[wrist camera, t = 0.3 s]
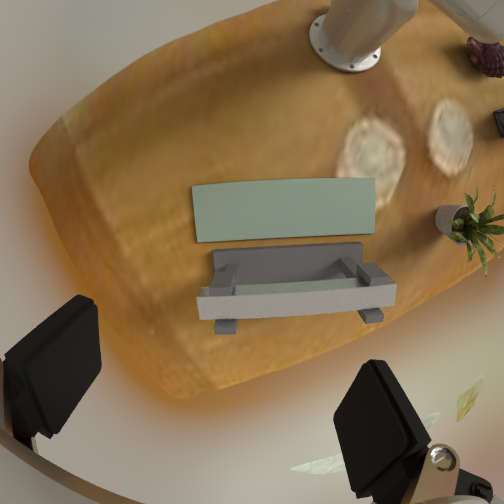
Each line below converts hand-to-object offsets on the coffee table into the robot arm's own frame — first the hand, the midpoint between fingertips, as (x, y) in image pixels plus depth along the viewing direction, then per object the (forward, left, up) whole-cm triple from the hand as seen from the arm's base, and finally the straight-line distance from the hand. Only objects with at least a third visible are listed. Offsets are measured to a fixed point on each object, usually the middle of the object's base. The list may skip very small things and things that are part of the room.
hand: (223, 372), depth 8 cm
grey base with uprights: (+9, +6, -36) cm, 37 cm away
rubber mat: (0, +6, -36) cm, 36 cm away
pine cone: (-34, +53, -36) cm, 72 cm away
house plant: (+1, +37, -36) cm, 51 cm away
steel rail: (+9, +6, -24) cm, 26 cm away
